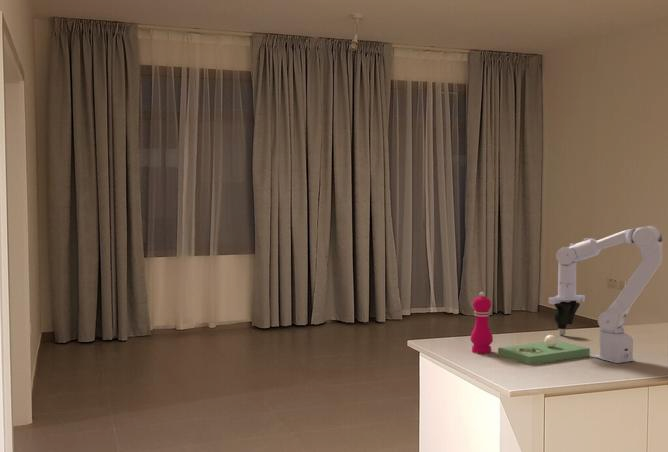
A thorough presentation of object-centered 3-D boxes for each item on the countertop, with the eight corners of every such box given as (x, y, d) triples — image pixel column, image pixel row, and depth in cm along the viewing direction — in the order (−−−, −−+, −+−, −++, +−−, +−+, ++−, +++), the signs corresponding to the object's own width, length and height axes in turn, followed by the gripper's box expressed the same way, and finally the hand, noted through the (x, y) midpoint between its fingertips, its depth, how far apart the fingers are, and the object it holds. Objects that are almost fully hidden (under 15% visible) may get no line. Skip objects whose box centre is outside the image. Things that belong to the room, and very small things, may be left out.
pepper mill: (493, 354, 217) (493, 293, 217) (470, 353, 219) (470, 293, 218) (492, 349, 224) (492, 290, 224) (470, 348, 226) (470, 290, 225)
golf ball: (559, 347, 216) (560, 335, 216) (550, 348, 214) (551, 336, 214) (550, 345, 220) (550, 333, 219) (541, 346, 218) (541, 334, 218)
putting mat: (589, 355, 215) (589, 348, 215) (529, 364, 203) (529, 356, 203) (556, 347, 228) (556, 340, 228) (498, 355, 216) (498, 347, 216)
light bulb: (567, 334, 251) (568, 307, 250) (571, 337, 245) (572, 310, 245) (551, 333, 251) (552, 307, 251) (555, 337, 245) (555, 310, 245)
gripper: (573, 280, 226) (573, 320, 227) (541, 283, 220) (541, 324, 220) (590, 283, 220) (589, 323, 221) (558, 285, 213) (557, 327, 214)
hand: (566, 324), depth 220 cm, fingers closed
